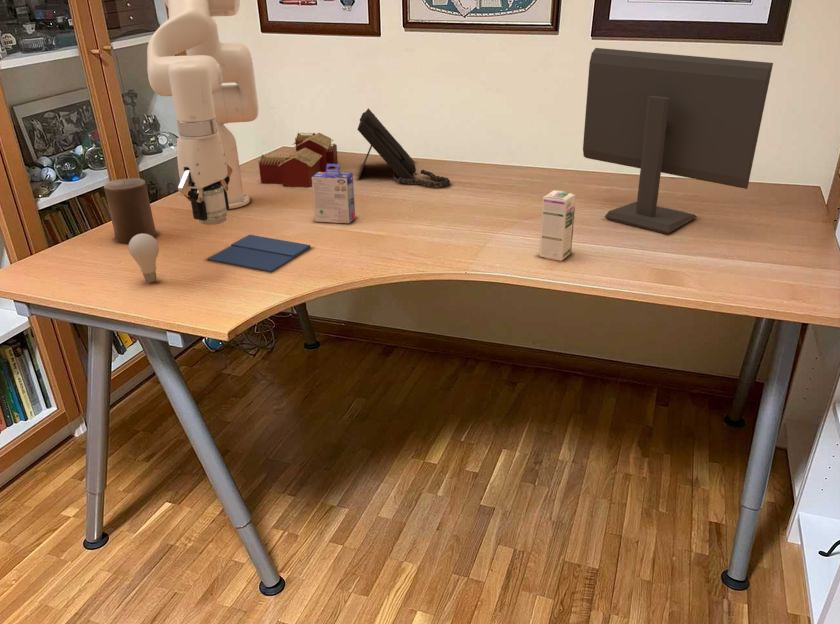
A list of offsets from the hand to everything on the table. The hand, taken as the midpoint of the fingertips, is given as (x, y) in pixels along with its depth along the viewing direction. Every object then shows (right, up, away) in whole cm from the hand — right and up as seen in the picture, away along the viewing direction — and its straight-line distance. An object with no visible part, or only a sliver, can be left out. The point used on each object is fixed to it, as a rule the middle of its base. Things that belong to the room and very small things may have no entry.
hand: (211, 213), depth 151 cm
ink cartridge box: (+22, +5, +38) cm, 44 cm away
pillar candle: (-28, 0, +29) cm, 40 cm away
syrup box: (+76, -7, +15) cm, 77 cm away
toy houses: (+6, +32, +84) cm, 90 cm away
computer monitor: (+105, +5, +35) cm, 111 cm away
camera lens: (0, -2, +1) cm, 2 cm away
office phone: (+39, +26, +74) cm, 88 cm away
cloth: (+6, -6, +18) cm, 20 cm away
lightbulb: (-14, -14, +4) cm, 21 cm away
